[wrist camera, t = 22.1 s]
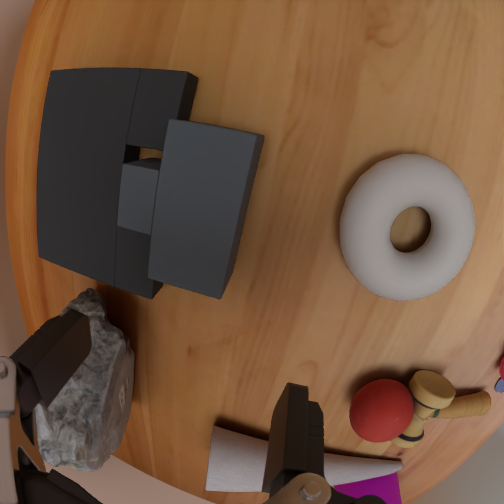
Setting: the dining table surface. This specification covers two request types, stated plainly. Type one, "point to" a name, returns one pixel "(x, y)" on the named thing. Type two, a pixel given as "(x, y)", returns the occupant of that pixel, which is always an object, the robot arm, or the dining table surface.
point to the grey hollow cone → (254, 459)
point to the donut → (384, 213)
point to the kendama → (409, 407)
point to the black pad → (101, 166)
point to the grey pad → (192, 203)
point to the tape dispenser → (374, 488)
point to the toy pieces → (503, 383)
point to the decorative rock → (90, 396)
